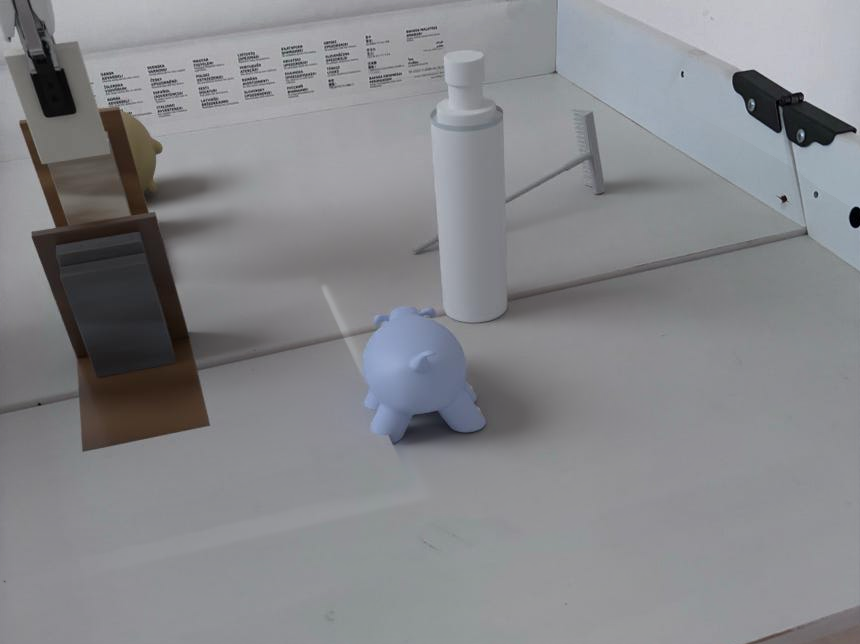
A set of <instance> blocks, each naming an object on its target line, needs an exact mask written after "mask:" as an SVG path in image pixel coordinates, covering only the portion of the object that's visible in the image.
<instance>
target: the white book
mask: <svg viewBox="0 0 860 644" xmlns="http://www.w3.org/2000/svg"><path fill="white" fill-rule="evenodd" d="M46 46H47V45H46ZM53 46H54V49H55V52H56V55H57V58H58V62H59V65H60V68H61V69H62V68H64V71H65V74H66V78H67V81H68V84H69V87H70V90H71V94H72V97H73V100H74V103H75V106H76V113H75V114H72V115H65V116H58V117H51V118H47V117H45V116H44V114H43V111H42V108H41V105H40V102H39V99H38V96H37V94H36V91H35V88H34V85H33V82H32V79H31V76H30V73H31V71H30V68H29V65H28V62H27V59H26V56H25V53H24V50H23V47H21V48H14V49H7V50H4V60H5V64H6V65H7V70H8V71H9V75H10V77H11V81H12V83H13V86H14V89H15V92H16V95H17V97H18V100H19V103H20V106H21V110H22V111H23V115H24V117H25V120H27V123H28V126H29V129H30V131H31V134H32V137H33V140H34V143H35V146H36V149H37V151H38V154H39V157H40V160H41V163H42V164H47V163H54V162H60V161H67V160H73V159H80V158H86V157H93V156H99V155H106V154H110V148H109V144H108V140H107V137H106V134H105V130H104V127H103V124H102V120H101V117H100V114H99V110H98V108H99V107H98V104H97V101H96V97H95V93H94V90H93V87H92V84H91V80H90V77H89V74H88V71H87V68H86V64H85V61H84V58H83V54H82V51H81V47H80V43H79V41H77V40H74V41H68V42H59V43H56V44H53ZM47 48H48V47H47Z"/></svg>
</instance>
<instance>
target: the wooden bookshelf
mask: <svg viewBox="0 0 860 644" xmlns="http://www.w3.org/2000/svg"><path fill="white" fill-rule="evenodd" d="M98 110H99V114H100V117H101V120H102V124H103V127H104V130H105V134H106V137H107V140H108V144H109V148H110V154H106V155H99V156H93V157H86V158H80V159H73V160H67V161H60V162H54V163H47V164H42V163H41V160H40V157H39V154H38V151H37V149H36V146H35V143H34V140H33V137H32V134H31V131H30V129H29V126H28V123H27V120H26V119H19V121H18V124H19V127H20V131H21V133H22V136H23V138H24V142H25V144H26V148H27V150H28V153H29V156H30V159H31V162H32V164H33V167H34V170H35V173H36V177H37V179H38V181H39V184H40V187H41V190H42V193H43V196H44V199H45V201H46V204H47V207H48V209H49V213H50V216H51V219H52V221H53V224H54V228H58V227H64V226H70V225H76V224H82V223H89V222H95V221H101V220H107V219H113V218H119V217H125V216H132V215H138V214H144V213H150V211H149V208H148V204H147V201H146V197H145V192H143V190H142V186H141V183H140V179H139V175H138V172H137V168H136V165H135V161H134V158H133V154H132V151H131V147H130V143H129V140H128V136H127V133H126V129H125V126H124V122H123V119H122V115H121V111H122V110H121V107H120V106H111V107H106V108H104V109H98ZM120 110H121V111H120Z"/></svg>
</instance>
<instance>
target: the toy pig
mask: <svg viewBox="0 0 860 644" xmlns="http://www.w3.org/2000/svg"><path fill="white" fill-rule="evenodd" d="M104 108H107V106H106V107H98V109H104ZM120 111H121V115H122V119H123V122H124V126H125V129H126V133H127V136H128V140H129V143H130V147H131V151H132V154H133V158H134V161H135V165H136V168H137V172H138V175H139V179H140V183H141V186H142V190H143V193H145V192H147V193H150V194H153V193H155V192H157V190H158V185H157V183H156V181H155V180H154V176H155V173H156V168H157V155H159V154H161V153H163V149H164V148H163V145H162V143H161V142H160V141H158V140H157V139H155V138H153V137H152V136H151V134H150V132H149V130H148V129H147V128H146V126H145V125H144V124H143V123H142V122H141V121H140V120H139V119H138V118H136V117H135V116H133V115H132V114H130V113H129V112H126V111H123V110H121V109H120Z"/></svg>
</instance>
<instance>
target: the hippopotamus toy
mask: <svg viewBox="0 0 860 644" xmlns="http://www.w3.org/2000/svg"><path fill="white" fill-rule="evenodd" d="M426 316H428V317H426ZM436 316H437V310H436V309H435V308H434V307H431V306H430V307H425V308H424V309H422V310H419V309H417V308H415V307H414V306H409V305H402V306H398V307H396V308H394V309H391V311H390V313H389V315H388V314H381V313H379V314H376V315H375V316H374V317H373V324H374V326H376V327H379V326H380V325H381V324H382V325H381V326H380V327H379V328H378V329H377V330H376V331H375V332H374V333H373V334H372V335H371V337H370V338H369V339H368V341H367V343H366V345H365V348H364V351H363V354H362V372H363V373H362V374H363V376H364V380H365V383H366V385H367V386H368V389H369V390H368V392H367V394H366V396H365V398H364V402H363V405H364V406H365V407H366V408H367V409H369V410H373V411H376V412H375V414H374V416H373V419H372V421H371V423H370V425H369V429H370V431H371V433H373V434H375V435H379V436H388V437H389V440H390V442H391V444H392V445H393V444H396V443H397V442H399V441H400V440H401V439H402V438H403V437H404V435H405V433H406V431H407V429H408V426H409V424H410V422H411V420H412V418H413V416H414V415H422V414H428V413H432V412H436V411H437V412H438V414H439V415H440V416H441V417H442V419H443V420H444V421H445V423H446V424H447V425H448V427H450V429H451V430H453V431H456V432H458V433H472V432H473V433H474V432H477V431H479V430H481V429H483V428H484V427H485V426H486V424H487V420H486V418H485V416H484V414H483V413H482V411H481V408H480V406H479V407H478V406H477V405H476V404H475V403H476V401H477V398H478V396H477V394H476V393H475V391H474V388H473V386H472V385H470V384H469V383H468V382H467V380H466V378H467V360H466V355H465V353H464V350H463V347H462V345H461V344H460V341H459V340H458V338H457V337H456V336H455V334H454V333H452V331H451V330H450V329H448V328H447V327H446V326H445V325H443V324H441V323H440V322H438V321H436V320H435V319H434V318H436ZM429 317H430V318H429Z"/></svg>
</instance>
